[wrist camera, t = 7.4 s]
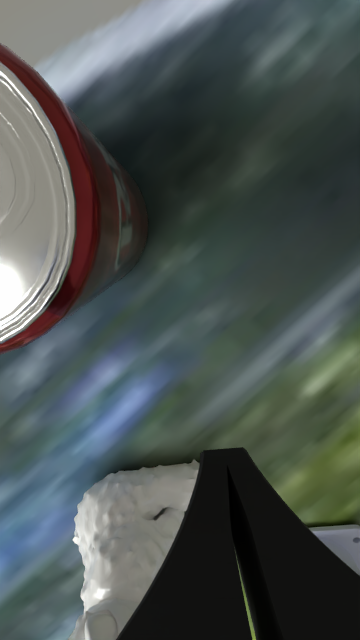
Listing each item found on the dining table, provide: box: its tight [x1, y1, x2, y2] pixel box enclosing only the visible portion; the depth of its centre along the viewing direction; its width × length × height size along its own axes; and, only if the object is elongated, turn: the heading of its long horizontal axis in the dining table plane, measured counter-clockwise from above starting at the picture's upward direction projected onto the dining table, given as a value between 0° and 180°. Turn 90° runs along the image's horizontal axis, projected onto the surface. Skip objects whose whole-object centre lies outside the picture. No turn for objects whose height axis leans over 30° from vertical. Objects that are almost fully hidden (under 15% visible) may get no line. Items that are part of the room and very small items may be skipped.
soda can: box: [0, 43, 148, 355], centre depth 13 cm, size 7×7×12 cm
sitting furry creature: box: [68, 460, 200, 640], centre depth 17 cm, size 10×9×12 cm
